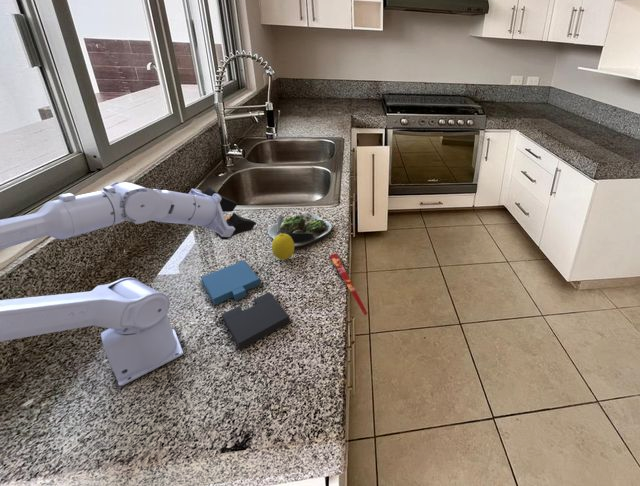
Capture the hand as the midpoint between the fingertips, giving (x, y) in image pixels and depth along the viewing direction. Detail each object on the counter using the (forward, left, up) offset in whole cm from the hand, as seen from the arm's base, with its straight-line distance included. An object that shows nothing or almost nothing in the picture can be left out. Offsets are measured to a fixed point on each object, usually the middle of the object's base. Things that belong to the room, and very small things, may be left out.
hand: (243, 216), depth 77 cm
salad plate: (+18, +12, -18) cm, 29 cm away
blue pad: (-5, +3, -18) cm, 19 cm away
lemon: (+9, +3, -18) cm, 21 cm away
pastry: (+3, +30, -18) cm, 35 cm away
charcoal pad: (-5, -13, -18) cm, 23 cm away
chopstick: (+16, -16, -18) cm, 29 cm away
